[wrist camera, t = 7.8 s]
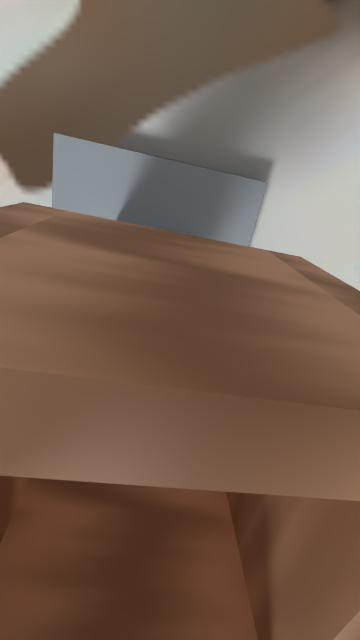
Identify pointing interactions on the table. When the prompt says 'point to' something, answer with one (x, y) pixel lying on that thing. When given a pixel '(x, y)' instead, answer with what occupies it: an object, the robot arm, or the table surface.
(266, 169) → the table surface
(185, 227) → the slate board
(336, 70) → the table surface
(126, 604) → the open wooden box
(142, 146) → the table surface
